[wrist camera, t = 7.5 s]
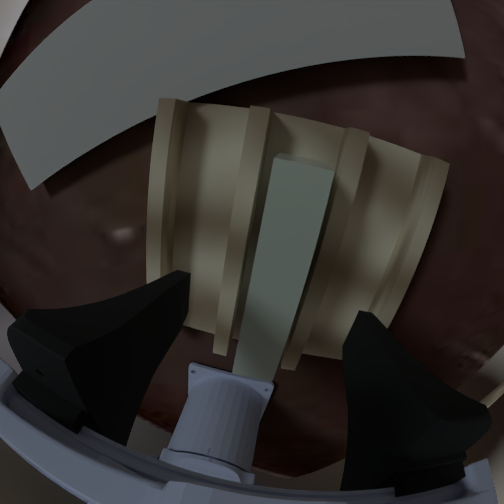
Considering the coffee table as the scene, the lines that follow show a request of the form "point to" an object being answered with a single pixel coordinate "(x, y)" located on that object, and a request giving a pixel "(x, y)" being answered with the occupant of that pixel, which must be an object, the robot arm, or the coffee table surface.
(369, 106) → the coffee table surface
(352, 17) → the grey rectangular block
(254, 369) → the clay strip
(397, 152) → the ribbed tan slab
